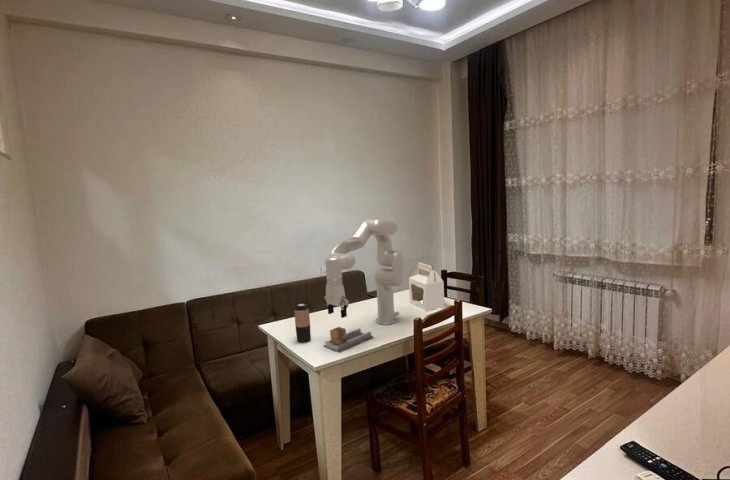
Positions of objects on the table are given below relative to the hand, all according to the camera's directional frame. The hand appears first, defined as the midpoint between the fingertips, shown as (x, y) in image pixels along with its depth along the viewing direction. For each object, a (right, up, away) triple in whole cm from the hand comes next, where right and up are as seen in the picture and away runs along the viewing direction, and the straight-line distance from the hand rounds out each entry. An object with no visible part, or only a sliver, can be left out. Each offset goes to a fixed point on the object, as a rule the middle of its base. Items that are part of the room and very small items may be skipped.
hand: (337, 315), depth 193 cm
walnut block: (+1, -15, +2) cm, 15 cm away
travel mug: (-19, -16, +12) cm, 27 cm away
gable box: (+54, -6, +62) cm, 82 cm away
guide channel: (+5, -15, +7) cm, 17 cm away
